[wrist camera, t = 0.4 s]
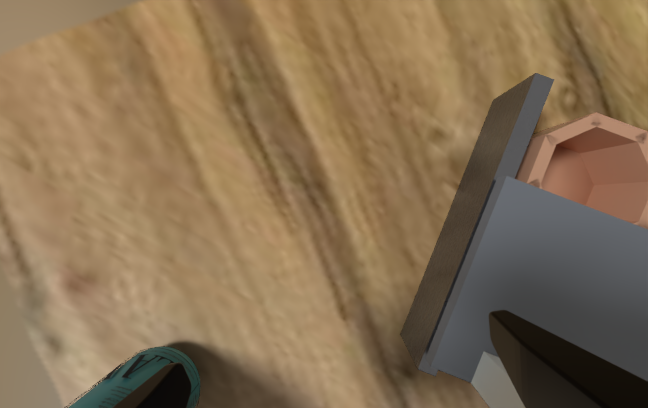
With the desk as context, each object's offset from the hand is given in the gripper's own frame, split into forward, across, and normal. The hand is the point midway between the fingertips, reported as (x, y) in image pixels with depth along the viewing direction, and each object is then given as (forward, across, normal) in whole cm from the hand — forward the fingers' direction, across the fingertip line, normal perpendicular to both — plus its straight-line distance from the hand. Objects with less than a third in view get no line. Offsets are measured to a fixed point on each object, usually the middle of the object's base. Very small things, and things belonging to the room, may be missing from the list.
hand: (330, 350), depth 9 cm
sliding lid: (+9, -12, +8) cm, 17 cm away
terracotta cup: (+17, -16, +3) cm, 23 cm away
